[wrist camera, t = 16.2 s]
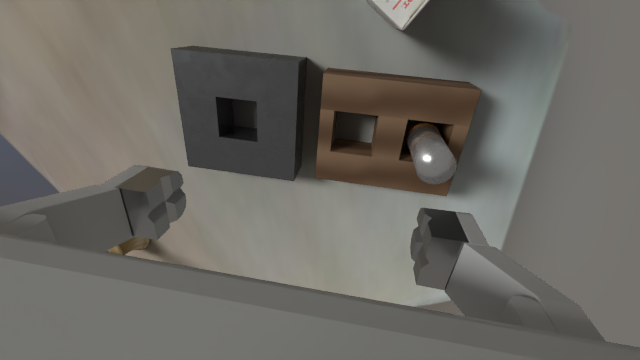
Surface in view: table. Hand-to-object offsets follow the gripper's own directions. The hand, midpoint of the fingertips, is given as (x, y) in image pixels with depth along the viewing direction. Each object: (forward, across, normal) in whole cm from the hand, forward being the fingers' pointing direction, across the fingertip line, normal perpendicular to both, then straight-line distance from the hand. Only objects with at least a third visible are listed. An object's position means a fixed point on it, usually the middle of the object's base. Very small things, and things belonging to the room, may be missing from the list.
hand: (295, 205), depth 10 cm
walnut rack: (+33, -6, +7) cm, 34 cm away
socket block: (+33, +14, +7) cm, 37 cm away
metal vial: (+33, -10, +7) cm, 35 cm away
